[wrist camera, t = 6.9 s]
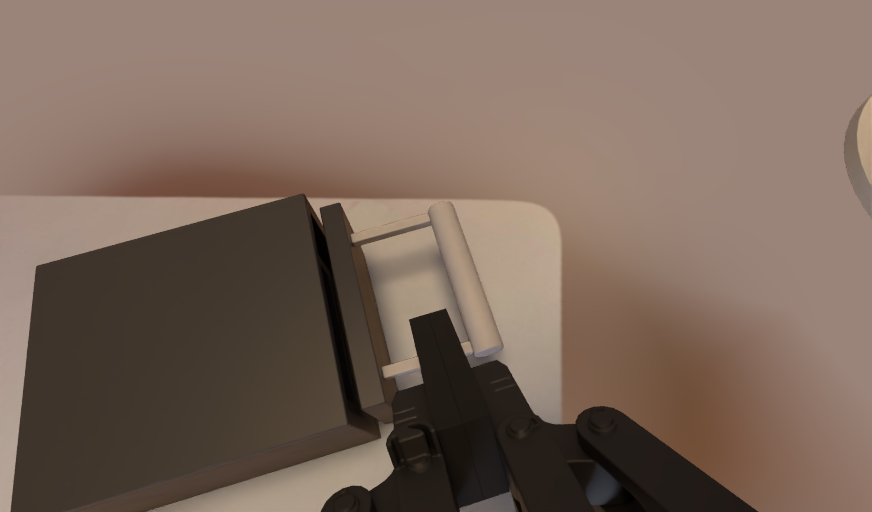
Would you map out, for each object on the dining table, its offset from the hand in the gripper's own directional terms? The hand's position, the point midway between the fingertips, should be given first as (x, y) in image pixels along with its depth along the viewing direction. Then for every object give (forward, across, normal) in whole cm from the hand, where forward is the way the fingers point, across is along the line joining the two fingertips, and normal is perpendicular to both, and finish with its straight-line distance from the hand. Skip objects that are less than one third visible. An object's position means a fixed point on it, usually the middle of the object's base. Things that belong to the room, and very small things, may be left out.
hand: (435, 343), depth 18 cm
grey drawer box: (+12, -12, -5) cm, 17 cm away
